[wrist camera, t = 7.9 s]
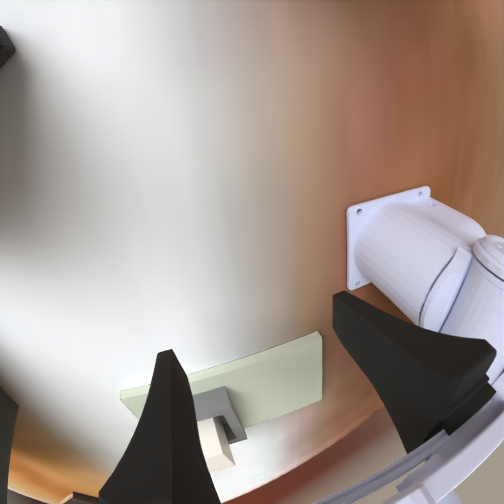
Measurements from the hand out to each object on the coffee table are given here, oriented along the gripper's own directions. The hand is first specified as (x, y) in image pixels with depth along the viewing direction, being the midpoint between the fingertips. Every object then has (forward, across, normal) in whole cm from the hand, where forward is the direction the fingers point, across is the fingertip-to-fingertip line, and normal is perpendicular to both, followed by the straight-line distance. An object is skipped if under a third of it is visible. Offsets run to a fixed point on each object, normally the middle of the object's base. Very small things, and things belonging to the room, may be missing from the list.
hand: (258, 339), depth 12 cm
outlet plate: (+9, +3, +18) cm, 21 cm away
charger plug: (+8, +7, +18) cm, 21 cm away
